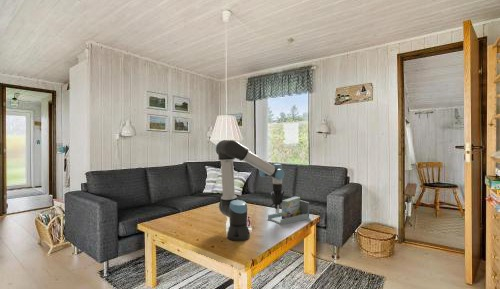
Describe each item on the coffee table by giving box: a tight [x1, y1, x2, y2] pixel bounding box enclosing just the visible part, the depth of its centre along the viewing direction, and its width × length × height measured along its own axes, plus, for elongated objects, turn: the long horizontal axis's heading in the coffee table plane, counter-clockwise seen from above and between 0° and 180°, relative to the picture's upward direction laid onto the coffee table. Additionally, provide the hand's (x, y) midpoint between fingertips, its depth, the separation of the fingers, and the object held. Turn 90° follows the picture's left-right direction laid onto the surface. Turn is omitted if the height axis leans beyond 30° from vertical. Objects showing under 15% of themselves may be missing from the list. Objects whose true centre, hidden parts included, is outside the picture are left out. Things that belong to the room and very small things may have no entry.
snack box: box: [281, 196, 301, 219], centre depth 212 cm, size 21×6×15 cm, turn 140°
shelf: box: [267, 199, 310, 226], centre depth 210 cm, size 30×17×13 cm, turn 124°
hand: (277, 212), depth 203 cm, fingers closed
